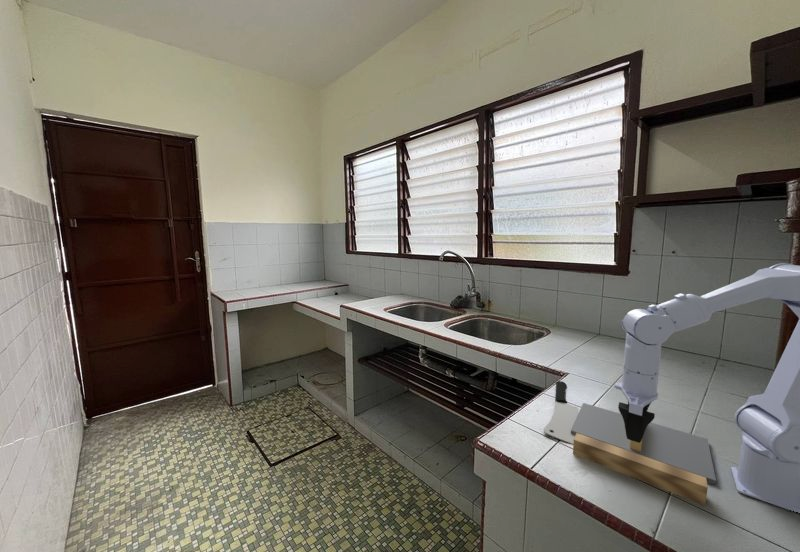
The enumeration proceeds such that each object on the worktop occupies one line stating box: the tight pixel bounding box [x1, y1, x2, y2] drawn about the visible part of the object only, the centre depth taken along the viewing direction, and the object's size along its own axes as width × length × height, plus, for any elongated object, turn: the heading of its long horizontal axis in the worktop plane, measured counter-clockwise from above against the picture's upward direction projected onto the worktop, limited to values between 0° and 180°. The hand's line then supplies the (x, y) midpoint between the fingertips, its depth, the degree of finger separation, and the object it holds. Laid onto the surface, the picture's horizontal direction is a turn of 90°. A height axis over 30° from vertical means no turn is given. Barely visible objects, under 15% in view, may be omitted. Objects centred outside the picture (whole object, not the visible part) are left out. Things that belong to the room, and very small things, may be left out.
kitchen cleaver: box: [543, 380, 580, 445], centre depth 89 cm, size 31×2×10 cm
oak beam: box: [572, 433, 708, 506], centre depth 66 cm, size 22×3×4 cm, turn 50°
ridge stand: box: [571, 402, 717, 486], centre depth 77 cm, size 26×16×4 cm, turn 50°
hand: (635, 430), depth 65 cm, fingers open, 7 cm apart
